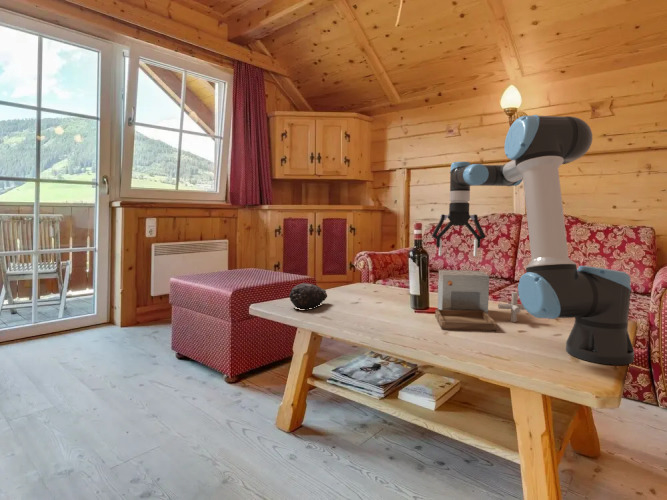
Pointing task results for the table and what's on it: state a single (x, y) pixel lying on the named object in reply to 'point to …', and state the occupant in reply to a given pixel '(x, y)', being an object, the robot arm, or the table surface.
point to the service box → (463, 290)
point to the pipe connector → (513, 306)
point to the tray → (465, 320)
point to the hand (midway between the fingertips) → (457, 255)
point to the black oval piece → (307, 296)
